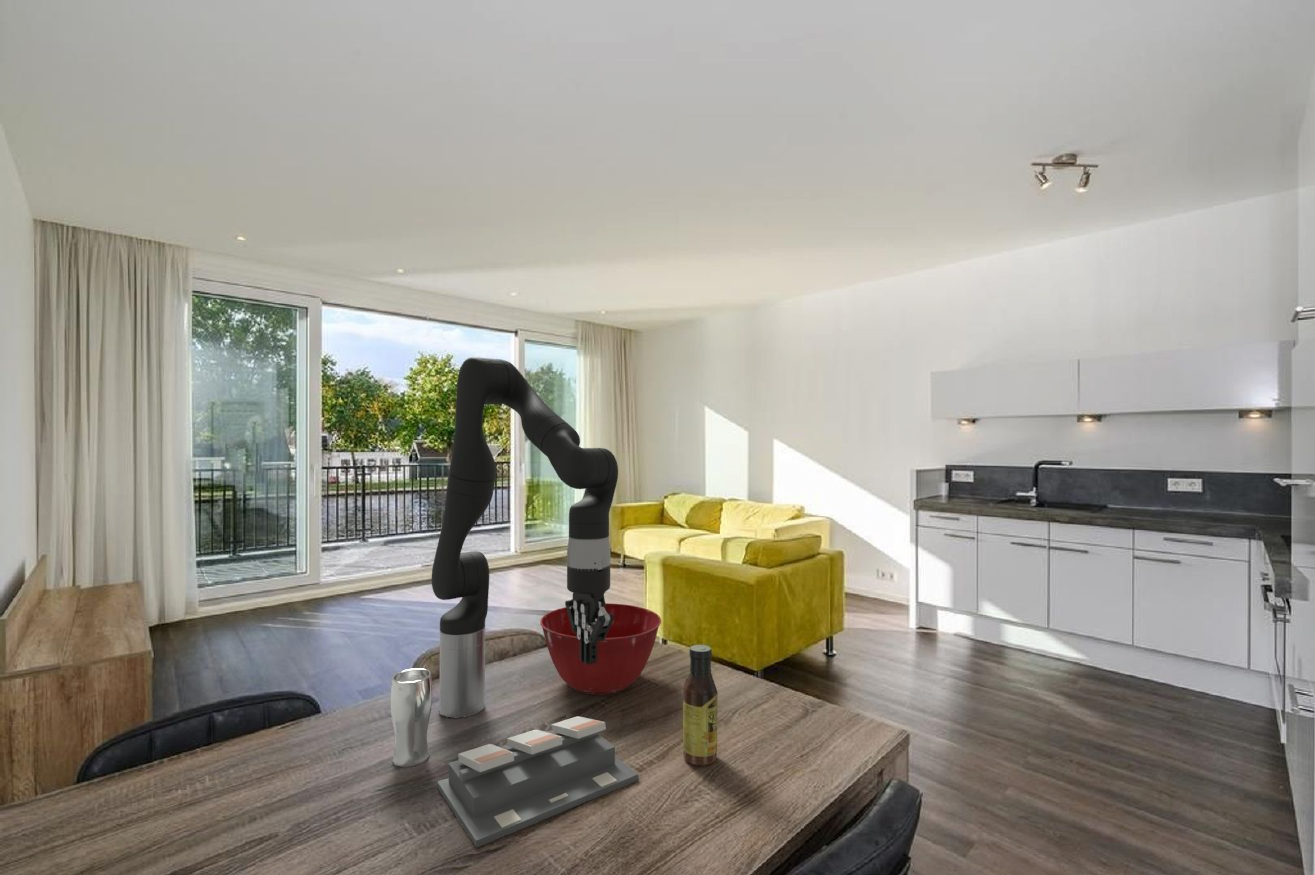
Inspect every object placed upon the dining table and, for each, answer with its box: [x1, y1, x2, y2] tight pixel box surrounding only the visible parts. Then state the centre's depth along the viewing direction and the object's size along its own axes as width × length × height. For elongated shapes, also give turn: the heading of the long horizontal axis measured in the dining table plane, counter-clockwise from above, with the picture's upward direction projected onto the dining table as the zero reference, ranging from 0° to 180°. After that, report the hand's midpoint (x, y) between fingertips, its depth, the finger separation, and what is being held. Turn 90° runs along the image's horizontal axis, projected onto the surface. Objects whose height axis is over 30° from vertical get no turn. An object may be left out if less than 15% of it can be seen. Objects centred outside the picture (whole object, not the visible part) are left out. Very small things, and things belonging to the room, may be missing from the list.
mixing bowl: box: [539, 602, 662, 696], centre depth 141 cm, size 28×28×16 cm
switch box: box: [436, 729, 639, 848], centre depth 99 cm, size 18×28×5 cm, turn 127°
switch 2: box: [506, 729, 562, 755], centre depth 101 cm, size 10×6×1 cm, turn 37°
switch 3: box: [550, 716, 607, 739], centre depth 106 cm, size 10×6×1 cm, turn 37°
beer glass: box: [390, 667, 433, 768], centre depth 107 cm, size 7×7×15 cm
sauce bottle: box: [682, 644, 719, 767], centre depth 108 cm, size 7×6×20 cm
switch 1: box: [457, 743, 514, 772], centre depth 96 cm, size 10×6×1 cm, turn 37°
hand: (588, 661), depth 103 cm, fingers closed
